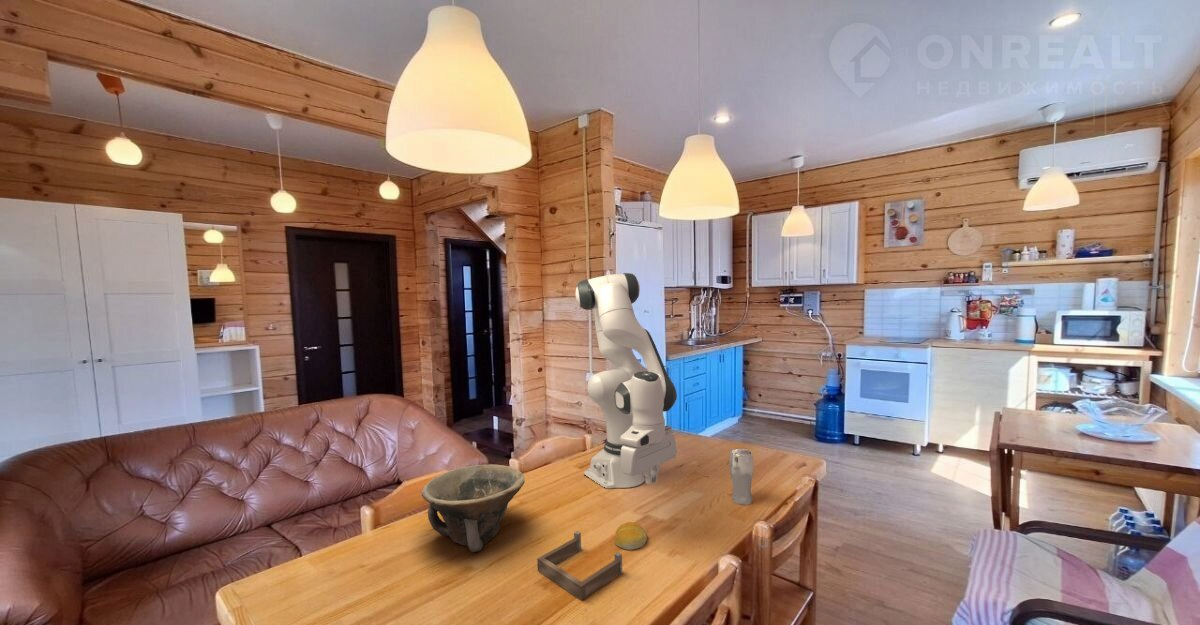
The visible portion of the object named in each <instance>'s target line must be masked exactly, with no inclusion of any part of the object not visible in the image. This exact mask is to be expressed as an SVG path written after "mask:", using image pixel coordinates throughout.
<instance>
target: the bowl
mask: <svg viewBox="0 0 1200 625" xmlns="http://www.w3.org/2000/svg"><path fill="white" fill-rule="evenodd" d="M525 479H526V478H525V475H524V473H522V472H521V471H520V470H518V469H516V468H514V467H512V466H508V465H503V464H502V465H501V464H476V465H469V466H464V467H459V468H455V469H452V470H448V471H446V472H443V473H442V474H440V475H438V476H436V477H434V478H432V479H430V480H429V481H428V482H427V483H426V484H425V485H424V486H423V488H422V491H421V496H422V498H423V499H424V500H425V502H428V504H429V506H428V509H427V510H428V511H427V517H428V518H427V520H428V521H429V523H430V525H431V527H432V529H433V530H434V531H435V532H436V533H438V534H439V535H442V536H445V537H449V538H450V539H451V541H452V543H455V544H457V543H458V544H457V545H460V544H461V545H460V546H465V545H468V546H467V547H468V549H469V551H470V552H471V553H475V552H479V551H481V550H482V549H483V546H484V545H485V544H487V543H488V542H489V540H490V541H492V540H493V539H494V538H495V537H496V535H498V533H499V531H500V523H501V520H502V518H503V516H505V513H506V511H507V509H508V505H509V502H511V501H512V499H513V498H514V497H515V495H517V494H518V492H519V491H520V490H521V489H522V487H523V486H524V484H525ZM438 514H440V516H441V517H442V519H443V520H442V519H441V518H440V516H439V515H438ZM492 538H493V539H492ZM486 542H487V543H486Z"/></svg>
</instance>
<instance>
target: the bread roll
mask: <svg viewBox="0 0 1200 625" xmlns="http://www.w3.org/2000/svg"><path fill="white" fill-rule="evenodd" d="M647 539H648V538H647V532H646V530H645V529H644V527H643V526H642V525H640V524H639V523H637V522H633V521H632V522H631V521H628V522H625V523H622V524H621V525H619V526H618V527H617V529H616V530H615V536H614V544H615V545H616V546H617V547H619V548H621V549H624V550H626V551H627V550H628V551H631V550H632V551H633V550H637V549H640V548H642V547H644V545H645V544H646V543H647Z"/></svg>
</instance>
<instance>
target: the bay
mask: <svg viewBox="0 0 1200 625" xmlns="http://www.w3.org/2000/svg"><path fill="white" fill-rule="evenodd" d="M581 534H582V532H580V531H578V530H577V531H574V533H573V538H572V539H570V540H568V541H566V542H564V543H562V544H561V545H559V546H558V547H555V548H554V549H551V550H550V551H548V552H546V553H544V554H543V555H540V556H539V557H537V558H536V562H537V564H536V565H537V566H536V567H537V572H538V571H539V573H540V574H541V573H542V575H543V576H545V577H546V579H547V578H548V579H549V580H550V581H552V582H553V583H555V584H556V585H558V586H559V587H560V588H562V589H564V590H565V591H566V592H568V593H570V594H571V595H573V596H574V597H575V596H576V599H578V598H579V599H578V600H580V601H581V600H582V601H583V600H585V599H586V598H588V597H589V596H591V595H592V594H594V593H595V592H597V591H598V590H599V589H601V588H602V587H604V586H605V585H607V584H608V583H610V582H611V581H613V580H614V579H615V578H617V577H618V576H620V575H621V574H623V554H622V553H621V552H619V551H617V552H616V553H614V556H613V557H614V560H612V561H611V562H609V563H607V564H606V565H604V566H602V568H600V569H599V570H597V571H595V572H594V573H593V574H590V575H589V576H588V577H586V578H585V579H583V580H582V581H581V580H580V579H578V578H577V577H576V576H574V575H572V574H570V573H569V572H567V571H565V570H564V569H562V568H561V567H559V566H558V565H557V564H559V563H561V562H563V561H564V560H566V559H567V558H570V557H571V556H573V555H575V554H576V553H578V552H580V551H581V550H582V535H581Z"/></svg>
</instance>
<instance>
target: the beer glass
mask: <svg viewBox="0 0 1200 625" xmlns="http://www.w3.org/2000/svg"><path fill="white" fill-rule="evenodd" d="M729 473H730V478H731V483H732V495H731V500H732V502H734V503H736V504H738V505H741V506H742V505H745V506H747V505H751V504H752V503H753V501H754V500H753V495H752V485H753V484H752V482H753V477H754V476H753V475H754V457H753V452H752V450H749V449H745V448H733V449H731V450H730V451H729Z"/></svg>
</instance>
